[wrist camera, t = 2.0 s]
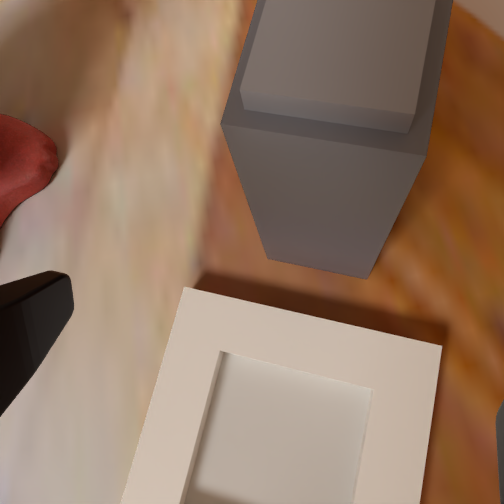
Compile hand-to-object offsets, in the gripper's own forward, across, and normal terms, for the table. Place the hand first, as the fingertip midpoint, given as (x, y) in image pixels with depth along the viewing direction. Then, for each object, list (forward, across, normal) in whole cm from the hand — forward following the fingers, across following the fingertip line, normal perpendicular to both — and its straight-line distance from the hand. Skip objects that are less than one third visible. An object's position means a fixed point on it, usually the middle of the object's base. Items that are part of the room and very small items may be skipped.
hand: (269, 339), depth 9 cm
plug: (+15, 0, +4) cm, 15 cm away
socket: (+7, 0, +12) cm, 14 cm away
